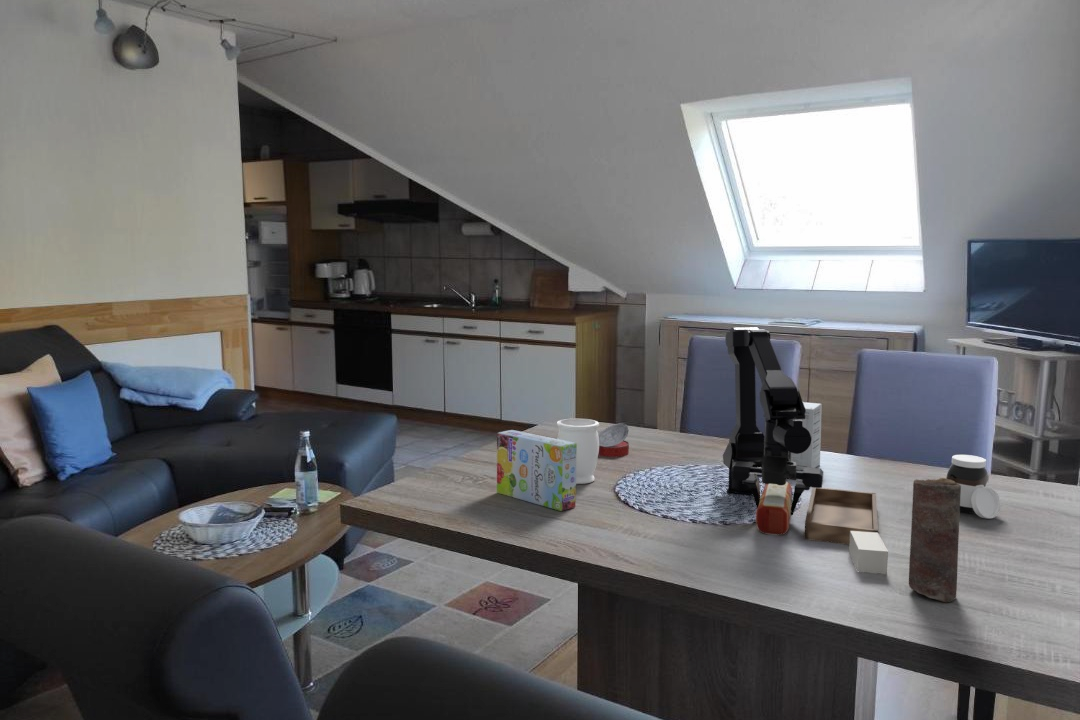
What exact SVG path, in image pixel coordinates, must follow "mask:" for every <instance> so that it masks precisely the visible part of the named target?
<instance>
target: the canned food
mask: <svg viewBox="0 0 1080 720" xmlns="http://www.w3.org/2000/svg"><path fill="white" fill-rule="evenodd" d="M628 434H629V426H628V425H627V424H626V423H625V422H619V423H615V424H612V425H610V426H608V427H606V428H605V429H604V430H602V431H600V432H598V436H599V453H598V456H601V457H606V458H621V457H625V456H628V455H629V453H630V452H629V451H630V450H629V449H630V446H629V445H630V443H629V442H628V441H626V440H625V439H626V438H627V437H628Z"/></svg>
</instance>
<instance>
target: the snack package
mask: <svg viewBox="0 0 1080 720" xmlns="http://www.w3.org/2000/svg"><path fill="white" fill-rule="evenodd" d="M792 500H793V488H792V485H791V484H790V483H789V482H788V481H786V484H785V485H777V484H764V486H763V490H762V493H761V495H760V503H759V506H758V508H757V507H756V511H755V522H756V523H755V524H756V527H757V529H758V531H759V532H760V533H763V534H766V535H771V536H782V535H785V534H786V533H788V530H789V528H790V519H791V506H792Z"/></svg>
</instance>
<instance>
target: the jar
mask: <svg viewBox="0 0 1080 720" xmlns="http://www.w3.org/2000/svg"><path fill="white" fill-rule="evenodd" d="M556 423H557V424H556V425H557V427H558V434H557V438H556V439H559V440H564V441H569V442H574V443H577V451H576V485H586V484H590V483H592V482H594V481H595V476H594V473H595V470H596V467H597V464H598V456H599V455H598V453H599V436H598V435H599V432H598V428H599V427H600V423H599V421H598V420H594V419H589V418H575V417H574V418H564V419H559V420H558V421H557V422H556Z"/></svg>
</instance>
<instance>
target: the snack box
mask: <svg viewBox="0 0 1080 720" xmlns="http://www.w3.org/2000/svg"><path fill="white" fill-rule="evenodd" d="M576 451H577V443H574V442H569V441H564V440H559V439H557V438H553V437H551V436H550V437H548V436H544V435H540V434H539V435H538V434H534V433H531V432H530V433H529V432H525V431H521V430H520V431H519V430H514V429H510V430H509V429H508V430H504V431H499V432H497V433H496V493H497V494H500V495H504V496H507V497H510V498H514V499H518V500H521V501H525V502H529V503H531V504H535V505H538V506H542V507H545V508H548V509H553V510H555V511H559V512H563V511H566V510H571V509H572V508H573V509H574V508H575V507H576V502H577V501H576V498H577V497H576V496H577V493H576V492H577V490H576V489H577V484H576Z"/></svg>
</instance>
